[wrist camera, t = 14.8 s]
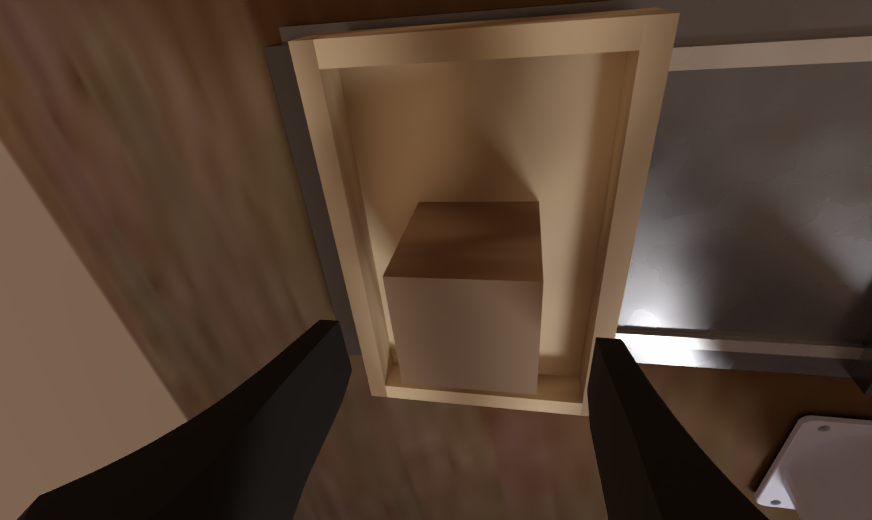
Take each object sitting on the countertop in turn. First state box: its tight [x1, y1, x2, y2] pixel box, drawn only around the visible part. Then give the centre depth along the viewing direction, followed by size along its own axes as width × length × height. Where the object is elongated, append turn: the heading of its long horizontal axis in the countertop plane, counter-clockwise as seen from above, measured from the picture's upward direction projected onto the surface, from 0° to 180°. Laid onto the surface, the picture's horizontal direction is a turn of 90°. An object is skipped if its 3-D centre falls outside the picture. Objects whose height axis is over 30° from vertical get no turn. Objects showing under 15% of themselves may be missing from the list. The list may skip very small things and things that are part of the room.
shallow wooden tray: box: [288, 8, 680, 416], centre depth 17 cm, size 11×16×3 cm
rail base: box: [263, 0, 872, 394], centre depth 17 cm, size 25×16×2 cm, turn 95°
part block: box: [382, 201, 544, 395], centre depth 15 cm, size 4×4×5 cm
